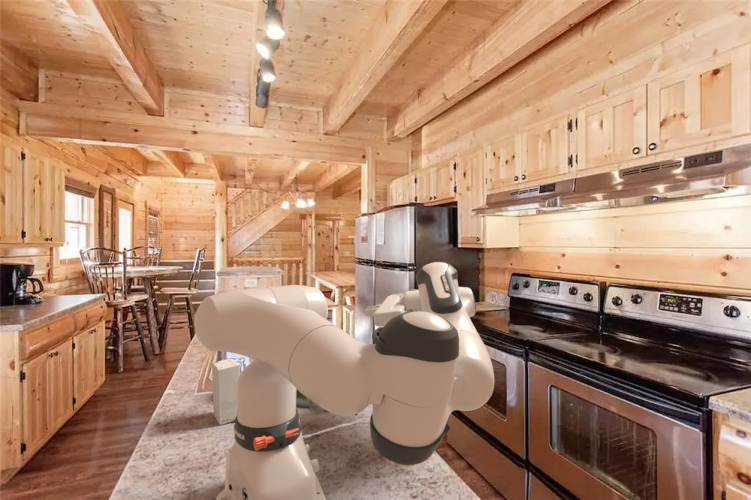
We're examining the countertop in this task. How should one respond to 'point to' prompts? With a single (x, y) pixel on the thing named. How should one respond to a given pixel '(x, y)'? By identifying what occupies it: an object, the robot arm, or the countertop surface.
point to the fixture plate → (308, 404)
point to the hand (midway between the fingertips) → (365, 311)
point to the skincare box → (225, 390)
